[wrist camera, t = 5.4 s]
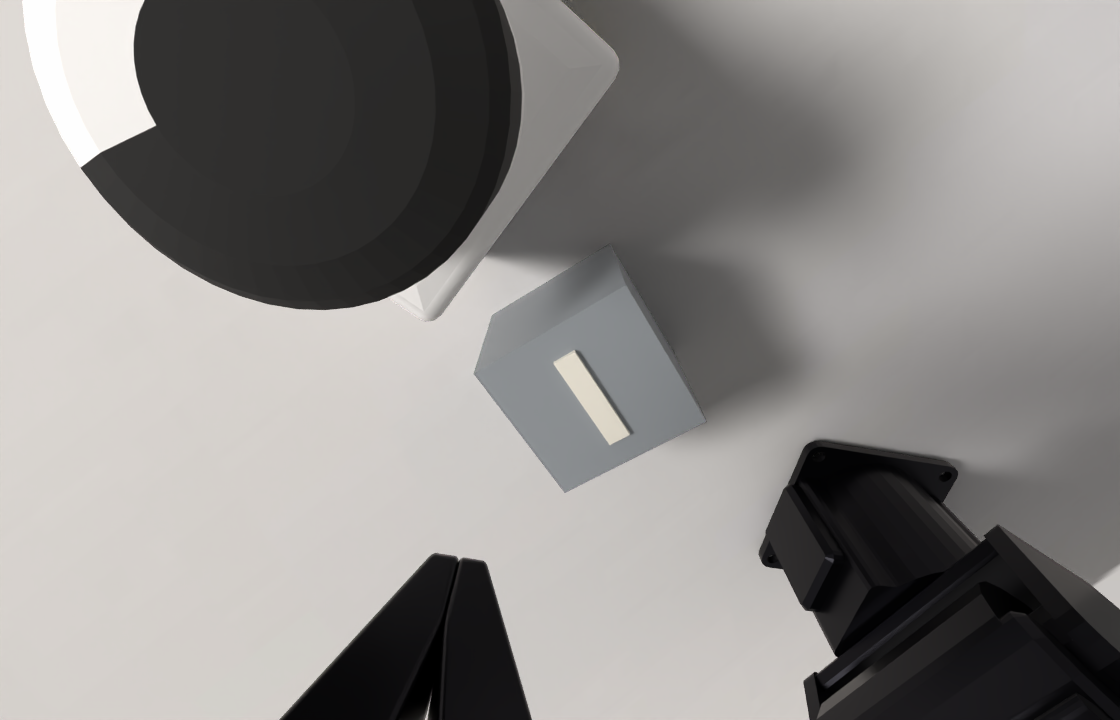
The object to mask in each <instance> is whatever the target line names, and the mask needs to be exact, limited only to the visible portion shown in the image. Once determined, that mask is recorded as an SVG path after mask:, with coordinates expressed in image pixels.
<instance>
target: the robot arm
mask: <svg viewBox="0 0 1120 720" xmlns="http://www.w3.org/2000/svg"><path fill="white" fill-rule="evenodd" d="M817 452H820V454H819V455H817V456H813V455H814V454H815V453H817ZM942 473H943V474H942ZM941 474H942V475H941ZM957 476H958V471H957V470H956V469H955V468H954V467H953V466H952V465H951V464H950V463H949V462H946V461H941V460H935V459H929V458H922V457H916V456H910V455H904V454H897V453H891V452H885V451H878V450H872V449H866V448H859V447H853V446H847V445H840V444H834V443H828V442H821V441H814V442H811V443H809V444H807V445H806V446H805V447H804V449H803V451H802V453H801V455H800V458H799V460H798V462H797V465H796V467H795V469H794V472H793V474H792V476H791V479H790V481H789V483H788V485H787V486H786V487H785V488H784V490H783V492H782V494H781V497H780V499H779V501H778V504H777V506H776V508H775V511H774V513H773V515H772V518H771V520H770V522H769V524H768V527H767V529H766V536H765V538H764V541H763V543H762V545H761V548H760V550H759V557H760V559H761V561H762V564H763V565H765V566H766V567H770V568H778V569H783V570H784V572H785V574H786V576H787V578H788V580H789V582H790V584H791V586H792V588H793V590H794V592H795V594H796V596H797V598H798V600H799V602H800V604H801V605H802V607H803V608H804V609H805V610H806V611H813V613H814V615H815V617H816V619H817V621H818V623H819V625H820V627H821V629H822V631H823V633H824V635H825V637H826V639H827V641H828V643H829V645H830V646H831V648H832V650H833V652H834V654H835V656H836V657H838V658H836V659H835V660H834V661H833V662H831V663H830V664H829V665H828V666H826V667H825V668H824V669H823V670H821V671H820V672H819V673H817V672H814V673H813V674H812V675H810V676H809V677H808V678H807V679H805V680H804V688H805V694H806V700H807V706H808V712H809V718H810V720H1120V609H1119V608H1117V607H1116V606H1115V605H1114V604H1113V603H1111V602H1110V601H1109V600H1108V599H1107V598H1105V597H1104V596H1103V595H1102V594H1101V593H1099V592H1098V591H1097V590H1096V589H1095V588H1094V587H1092V586H1091V585H1090V584H1089V583H1087V582H1086V581H1084V580H1083V579H1081V578H1080V577H1078V576H1077V575H1075V574H1074V573H1072V572H1070V571H1069V570H1067V569H1066V568H1064V567H1063V566H1061V565H1060V564H1058V563H1057V562H1055V561H1054V560H1052V559H1050V558H1049V557H1047V556H1046V555H1044V554H1043V553H1041V552H1040V551H1038V550H1037V549H1035V548H1034V547H1032V546H1030V545H1029V544H1027V543H1026V542H1024V541H1023V540H1021V539H1020V538H1018V537H1017V536H1015V535H1014V534H1012V533H1011V532H1009V531H1007V530H1006V529H1004V528H1003V527H1001V526H1000V525H997V526H995V527H994V528H993V529H992V530H990V531H989V532H988V533H987V534H985V535H984V537H985V538H986V539H985V540H984V541H982V542H980V541H979V540H978V539H977V538H976V536H975V535H974V534H973V533H972V532H971V531H970V530H969V529H968V528H967V527H966V526H965V525H964V524H963V523H962V522H961V521H960V520H959V519H958V518H957V517H956V516H955V515H954V514H953V513H952V512H951V511H950V510H949V509H948V508H947V507H946V506H945V505H944V504H943V501H944V499H945V498H946V496H947V494H948V492H949V491H950V489H951V487H952V486H953V484H954V482H955V481H956V479H957ZM770 555H773V556H771V557H769V556H770ZM430 699H431V700H430ZM429 703H430V706H429ZM428 707H429V713H428V720H532V718H531V715H530V711H529V708H528V704H527V701H526V698H525V694H524V691H523V687H522V684H521V680H520V677H519V673H518V670H517V666H516V663H515V660H514V656H513V653H512V649H511V646H510V642H509V639H508V635H507V632H506V628H505V625H504V622H503V618H502V615H501V611H500V608H499V604H498V601H497V597H496V594H495V591H494V587H493V584H492V580H491V577H490V573H489V570H488V566H487V564H486V563H485V562H484V561H482V560H476V559H469V558H461V559H460V560H459V563H458V558H457V557H456V556H451V555H445V554H439V553H434V554H432V555H431V556H430V557H428V559H427V560H426V561H425V562H424V563H423V564H422V565H421V566H420V567H419V568H418V569H417V571H416V572H415V573H414V574H413V575H412V576H411V577H410V578H409V579H408V580H407V581H406V583H405V584H404V585H403V586H402V587H401V588H400V589H399V590H398V591H397V592H396V593H395V594H394V596H393V597H392V598H391V599H390V600H389V601H388V602H387V603H386V604H385V605H384V606H383V608H382V609H381V610H380V611H379V612H378V613H377V614H376V615H375V616H374V617H373V618H372V619H371V621H370V622H369V623H368V624H367V625H366V626H365V627H364V628H363V629H362V630H361V631H360V633H359V634H358V635H357V636H356V637H355V638H354V639H353V640H352V641H351V642H350V643H349V645H348V646H347V647H346V648H345V649H344V650H343V651H342V652H341V653H340V654H339V655H338V656H337V658H336V659H335V660H334V661H333V662H332V663H331V664H330V665H329V666H328V667H327V668H326V670H325V671H324V672H323V673H322V674H321V675H320V676H319V677H318V678H317V679H316V680H315V681H314V683H313V684H312V685H311V686H310V687H309V688H308V689H307V690H306V691H305V692H304V693H303V695H302V696H301V697H300V698H299V699H298V700H297V701H296V702H295V703H294V704H293V705H292V707H291V708H290V709H289V710H288V711H287V712H286V713H285V714H284V715H283V716H282V717H281V718H280V720H425V717H426V714H427V711H428Z"/></svg>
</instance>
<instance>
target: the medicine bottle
mask: <svg viewBox="0 0 1120 720" xmlns="http://www.w3.org/2000/svg"><path fill="white" fill-rule="evenodd" d="M22 2H23V12H24V23H25V33H26V37H27V42H28V46H29V51H30V55H31V60H32V64H33V68H34V71H35V74H36V77H37V80H38V83H39V86H40V89H41V91H42V94H43V97H44V100H45V103H46V105H47V107H48V109H49V112H50V114H51V116H52V118H53V120H54V122H55V124H56V126H57V128H58V130H59V133H60V135H61V137H62V138H63V140H64V142H65V143H66V145H67V147H68V148H69V150H70V151H71V153H72V155H73V156H74V158H75V160H76V161H77V163H78V165H79V166H80V168H81V169H82V170H83V172H84V173H85V174H86V176H87V177H88V178H89V180H90V181H91V182H92V184H93V185H94V186H95V187H96V189H97V190H98V191H99V193H100V194H101V195H102V197H103V198H104V199H105V200H106V201H107V202H108V203H109V204H110V205H111V206H112V208H113V209H114V210H115V211H116V212H117V213H118V214H119V215H120V216H121V217H122V218H123V219H124V220H125V221H126V222H127V224H128V225H129V226H130V227H131V228H133V229H134V230H135V231H136V232H137V233H138V234H139V235H141V236H142V237H143V238H144V239H145V240H146V241H147V242H149V243H150V244H151V245H152V246H153V247H154V248H156V249H157V250H158V251H160V252H161V253H162V254H164V255H165V256H167V257H168V258H169V259H171V260H172V261H174V262H175V263H177V264H178V265H179V266H181V267H182V268H184V269H186V270H187V271H189V272H191V273H193V274H195V275H196V276H198V277H200V278H202V279H204V280H205V281H207V282H209V283H211V284H213V285H215V286H218V287H220V288H222V289H225V290H227V291H229V292H232V293H234V294H237V295H239V296H242V297H245V298H249V299H252V300H256V301H259V302H263V303H266V304H270V305H276V306H282V307H288V308H295V309H313V310H330V309H340V308H350V307H356V306H360V305H364V304H368V303H372V302H376V301H380V300H382V299H385V298H388V299H390V300H391V301H393V302H394V303H396V304H397V305H399V306H400V307H402V308H403V309H404V310H406V311H407V312H409V313H410V314H412V315H413V316H415V317H416V318H418V319H420V320H422V321H425V322H427V321H433V320H435V319H437V318H438V317H439V316H441V315H442V313H443V312H444V311H445V309H446V308H447V306H448V305H449V304H450V302H451V301H452V300H453V298H454V297H455V296H456V294H457V293H458V292H459V290H460V289H461V287H462V286H463V285H464V283H465V282H466V281H467V279H468V278H469V277H470V275H471V274H472V273H473V271H474V270H475V269H476V267H477V266H478V264H479V263H480V262H481V260H482V259H483V258H484V256H485V255H486V254H487V252H488V251H489V250H490V248H491V247H492V245H493V244H494V243H495V241H496V240H497V239H498V237H499V236H500V235H501V233H502V232H503V231H504V229H505V228H506V227H507V225H508V224H509V222H510V221H511V220H512V218H513V217H514V216H515V214H516V213H517V212H518V210H519V209H520V208H521V206H522V205H523V203H524V202H525V201H526V199H527V198H528V197H529V195H530V194H531V193H532V191H533V190H534V189H535V187H536V186H537V184H538V183H539V182H540V180H541V179H542V178H543V176H544V175H545V174H546V172H547V171H548V170H549V168H550V167H551V166H552V164H553V163H554V161H555V160H556V159H557V157H558V156H559V155H560V153H561V152H562V151H563V149H564V148H565V147H566V145H567V144H568V142H569V141H570V140H571V138H572V137H573V136H574V134H575V133H576V132H577V130H578V129H579V128H580V126H581V125H582V124H583V122H584V121H585V119H586V118H587V117H588V115H589V114H590V113H591V111H592V110H593V109H594V107H595V106H596V105H597V103H598V102H599V100H600V99H601V98H602V96H603V95H604V94H605V92H606V91H607V90H608V88H609V87H610V86H611V84H612V83H613V81H614V80H615V79H616V76H617V74H618V71H619V58H618V56H617V55H616V53H615V51H614V50H613V49H612V48H611V47H610V46H609V45H608V44H607V43H606V42H605V41H604V40H603V39H602V38H601V37H600V36H598V35H597V34H596V33H595V32H594V31H593V30H592V29H591V28H590V27H589V26H588V25H587V24H586V23H584V22H583V21H582V20H581V19H580V18H579V17H578V16H577V15H576V14H575V13H574V12H573V11H572V10H570V9H569V8H568V7H567V6H566V5H565V4H564V3H563V2H562V1H561V0H22Z"/></svg>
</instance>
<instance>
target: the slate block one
mask: <svg viewBox="0 0 1120 720" xmlns="http://www.w3.org/2000/svg"><path fill="white" fill-rule="evenodd" d="M474 375H475V376H476V377H477V379H478V380H479V381H480V383H481V384H482V385H483V386H484V388H485V389H486V390H487V392H488V393H489V394H490V396H491V397H492V398H493V400H494V401H495V402H496V403H497V405H498V406H499V407H500V409H501V410H502V411H503V413H504V414H505V415H506V417H507V418H508V419H509V420H510V422H511V423H512V424H513V426H514V427H515V428H516V430H517V431H518V432H519V434H520V435H521V436H522V437H523V439H524V440H525V441H526V443H527V444H528V445H529V447H530V448H531V449H532V451H533V452H534V453H535V454H536V456H537V457H538V458H539V460H540V461H541V462H542V464H543V465H544V466H545V468H546V469H547V470H548V472H549V473H550V474H551V475H552V477H553V478H554V479H555V481H556V482H557V483H558V485H559V486H560V487H561V489H562V490H563V491H564V492H565V493H566V492H568V491H570V490H572V489H574V488H576V487H577V486H579V485H581V484H583V483H585V482H587V481H589V480H591V479H593V478H595V477H597V476H599V475H601V474H603V473H605V472H607V471H609V470H611V469H613V468H615V467H617V466H619V465H621V464H623V463H625V462H627V461H629V460H631V459H633V458H635V457H637V456H639V455H641V454H643V453H645V452H647V451H649V450H651V449H653V448H655V447H657V446H659V445H661V444H663V443H665V442H667V441H669V440H671V439H673V438H675V437H677V436H679V435H681V434H683V433H685V432H687V431H689V430H691V429H693V428H695V427H697V426H699V425H701V424H703V423H705V422H707V421H706V419H705V417H704V415H703V413H702V411H701V409H700V407H699V404H698V402H697V400H696V398H695V396H694V394H693V392H692V390H691V388H690V386H689V383H688V381H687V379H686V377H685V375H684V373H683V371H682V369H681V367H680V365H679V362H678V360H677V358H676V356H675V354H674V352H673V351H672V349H671V347H670V346H669V344H668V342H667V340H666V339H665V337H664V335H663V334H662V332H661V330H660V328H659V327H658V325H657V323H656V322H655V320H654V318H653V317H652V315H651V313H650V311H649V310H648V308H647V306H646V305H645V303H644V301H643V299H642V298H641V296H640V294H639V293H638V291H637V289H636V287H635V286H634V284H633V282H632V281H631V279H630V277H629V275H628V274H627V272H626V270H625V269H624V267H623V265H622V263H621V262H620V260H619V258H618V257H617V255H616V253H615V252H614V250H613V248H612V246H611V245H610V244H609V245H607V246H605V247H604V248H602V249H601V250H599V251H597V252H596V253H594V254H592V255H591V256H589V257H587V258H586V259H584V260H582V261H581V262H579V263H577V264H576V265H574V266H573V267H571V268H569V269H568V270H566V271H564V272H563V273H561V274H559V275H558V276H556V277H554V278H553V279H551V280H549V281H548V282H546V283H544V284H543V285H541V286H540V287H538V288H536V289H535V290H533V291H531V292H530V293H528V294H526V295H525V296H523V297H521V298H520V299H518V300H516V301H515V302H513V303H511V304H510V305H508V306H507V307H505V308H503V309H502V310H500V311H498V312H497V313H495V314H493V315H492V317H491V321H490V324H489V327H488V330H487V333H486V336H485V340H484V343H483V346H482V349H481V352H480V355H479V359H478V362H477V365H476V368H475V371H474Z"/></svg>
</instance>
